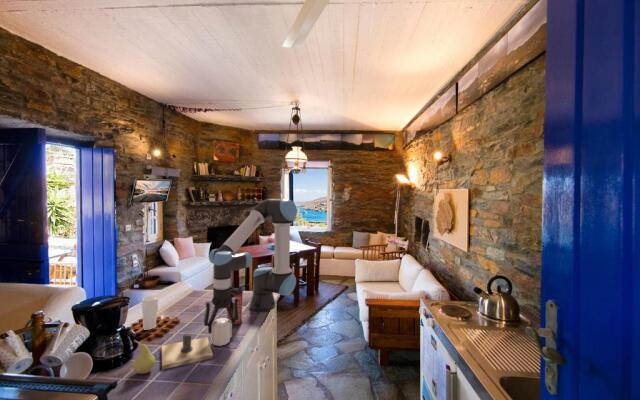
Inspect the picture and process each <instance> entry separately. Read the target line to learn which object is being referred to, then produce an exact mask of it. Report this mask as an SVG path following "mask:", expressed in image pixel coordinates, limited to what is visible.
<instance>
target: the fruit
mask: <svg viewBox="0 0 640 400" xmlns="http://www.w3.org/2000/svg"><path fill="white" fill-rule="evenodd" d="M133 342H134V343H135V344H136V343H137V344H138V345H140V352H139V355H138V356H137V357H136V358H135V359H134V362H133V364H132V365H133V366H132V369H133V371H134V372H135V373H136V374H141V375H144V374H147V373H149V372H151V371H152V370H153V368H154V367H155V365H156V357H155V356H154V355H153V354H152V352H151V351H150V349H149V347H148V346H147V345H146V344H145V343H142V342H139V341H138V340H136V339H134V340H133Z"/></svg>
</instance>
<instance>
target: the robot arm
mask: <svg viewBox="0 0 640 400" xmlns="http://www.w3.org/2000/svg"><path fill="white" fill-rule="evenodd" d="M297 214H298V210H297V206H296V203H294V201H293V200H291V199H287V198H267V199H263V201H260V202H259V203H258V204H257V205H255V206H254V207H253V208H252V209H251V210H250V212H249V215H248V216H247V217H246V218H245V220H244V221H243V222H242V223H241V224H240V225H239V226H238V227H237V228H236V230H235V231H234V232H233V233H232V234H231V235H230V236H229V237H228V238H227V239H226V240H225V241H224V242H223V244H222V245H221V246H220V247H219V248H215V249H211V251H210V252H209V253H208V260H209V262H210V263H212V264H213V289H212V291H213V293H212V295H213V296H212V299H211V300H209V301H208V300H207V301H205V314H204V321H203V324H204V326H205V327H207V330H208V331H207V332H208V334H210V341H211V342H212V341H213V333H214V326H213V321H214V320H216V319H215V318H216V316H217V314H218V312H219V310H221V309H226V313H227V312H228V314H229V317H230V319H231V321H230V338H232V336H233V333H232V332H233V330H234V329H235V326H234V322H235V321H236V320H238V319H239V318H238V309H237V302H238V299H237V298H236V297H235V298H232V297H231V288H232V287H231V286H232V273H233V272H235V271H240V270H243V269H246V268H249V267H250V266H252V264H253V257H252V255H251V253H250V252H248V251H242V252H237V251H238V250H239V249H240V248H241V247H242V245H243V244H244V243H245V242H246V241H247V239H248V238H250V236H251V235H252V234H253V233H254V231H255V230H256V229H257V228H258V227H259V226H260V225H261V224H263V223H264V222H265V221H267V220H271V224H272V225H273V226H274V246H273V247H274V249H273V250H274V251H273V252H274V253H273V254H274V255H273V257H274V258H273V259H274V260H273V261H274V263H273V264H274V266H272V267H271V266H263V267H258V268H256V269H254V271H253V276H252V285H253V286H252V296H251V298H250V302H249V309H250V310H252V311H254V312H269V311H272V310H274V309H275V308H276V300H275V297H274V296H275V295H274V294H277V295H281V296H289V295H291V294H292V293H293V291H294V289H295V287H296V285H297V278H296V276H295V275H294V274H293V270H292V268H291V267H290V253H291V252H290V251H291V250H290V246H291V245H290V243H291V242H290V241H291V238H290V237H291V235H290V233H291V232H290V231H291V230H290V229H291V225H292V224H293V223H294V222H293V221H294V220H295V219H296V218H297ZM231 301H232V302H233V306H234V315H235V317H233V315H232V313H231V310H230V308H229V303H230V302H231ZM212 305H213V306H214V307H213V309H212V310H213V311H212V312H211V307H212ZM210 312H211V316H210ZM209 317H210V318H209Z"/></svg>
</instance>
